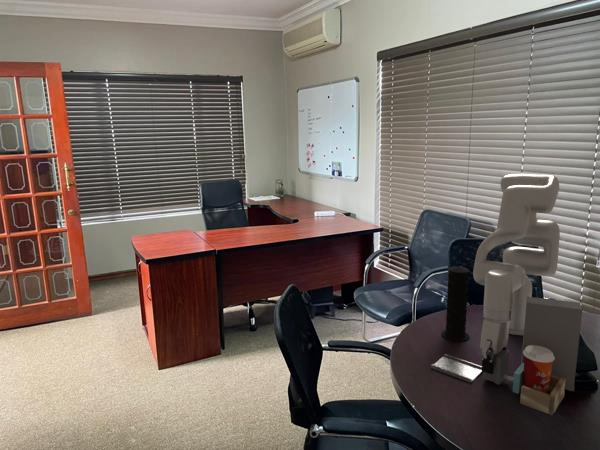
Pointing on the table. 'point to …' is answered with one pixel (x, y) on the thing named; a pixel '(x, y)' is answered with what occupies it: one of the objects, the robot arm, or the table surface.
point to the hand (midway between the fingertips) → (493, 365)
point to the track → (458, 368)
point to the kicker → (505, 371)
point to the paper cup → (537, 367)
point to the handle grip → (456, 305)
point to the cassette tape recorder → (554, 333)
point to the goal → (545, 396)
